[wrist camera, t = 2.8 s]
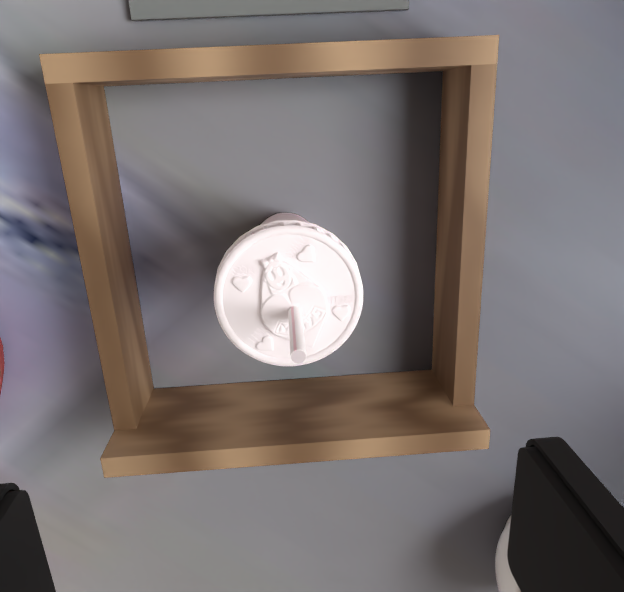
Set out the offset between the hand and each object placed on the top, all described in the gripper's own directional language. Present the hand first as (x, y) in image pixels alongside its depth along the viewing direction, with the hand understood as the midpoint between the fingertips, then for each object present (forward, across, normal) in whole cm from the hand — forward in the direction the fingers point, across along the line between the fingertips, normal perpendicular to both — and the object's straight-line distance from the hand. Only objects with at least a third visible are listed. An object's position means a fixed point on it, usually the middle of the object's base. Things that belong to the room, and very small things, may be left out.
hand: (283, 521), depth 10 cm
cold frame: (+22, -1, 0) cm, 22 cm away
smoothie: (+22, -1, 0) cm, 23 cm away
